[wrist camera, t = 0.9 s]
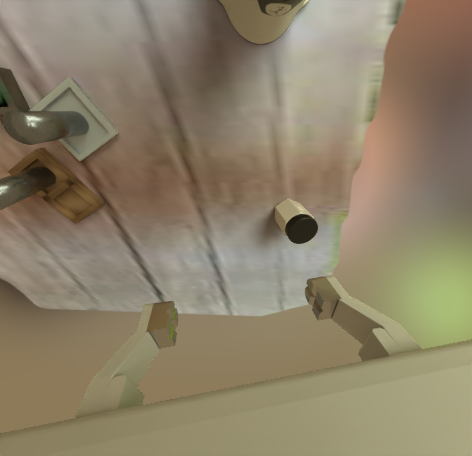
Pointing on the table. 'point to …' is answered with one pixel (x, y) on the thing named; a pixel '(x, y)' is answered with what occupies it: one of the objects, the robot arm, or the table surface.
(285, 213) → the jar
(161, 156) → the table surface
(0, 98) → the button
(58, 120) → the cylinder
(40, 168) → the cylinder
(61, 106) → the square tray
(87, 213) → the tray
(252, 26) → the robot arm
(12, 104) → the switch box
